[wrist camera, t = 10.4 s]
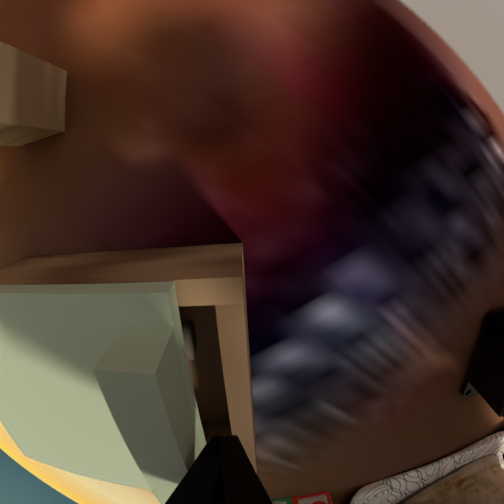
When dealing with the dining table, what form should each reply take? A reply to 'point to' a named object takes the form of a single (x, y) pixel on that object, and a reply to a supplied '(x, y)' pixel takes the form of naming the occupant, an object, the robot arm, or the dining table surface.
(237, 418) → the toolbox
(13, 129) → the oak block
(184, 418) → the lid
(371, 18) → the dining table surface
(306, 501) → the stack of blocks
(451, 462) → the cookie jar
